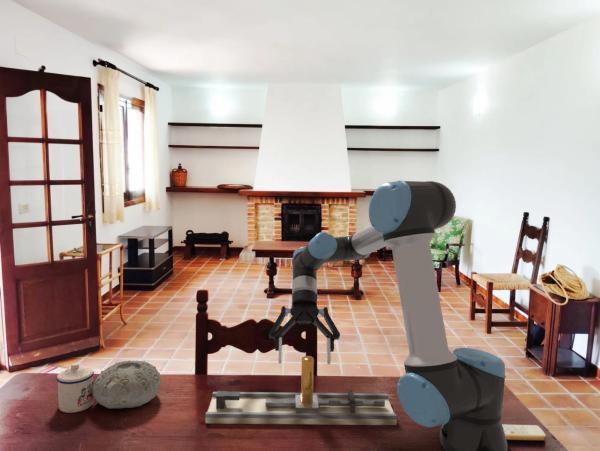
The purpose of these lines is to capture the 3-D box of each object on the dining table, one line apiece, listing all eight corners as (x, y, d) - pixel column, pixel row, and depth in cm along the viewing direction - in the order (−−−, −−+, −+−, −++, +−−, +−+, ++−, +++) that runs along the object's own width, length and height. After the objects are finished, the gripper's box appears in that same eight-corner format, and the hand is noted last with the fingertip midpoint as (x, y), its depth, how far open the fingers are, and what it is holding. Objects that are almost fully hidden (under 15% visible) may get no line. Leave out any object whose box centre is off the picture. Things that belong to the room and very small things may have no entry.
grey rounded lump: (150, 418, 122) (149, 382, 121) (81, 417, 122) (79, 380, 120) (168, 386, 140) (168, 354, 138) (108, 385, 139) (107, 353, 138)
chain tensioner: (381, 399, 130) (384, 354, 129) (387, 413, 123) (389, 365, 122) (266, 398, 130) (266, 352, 128) (264, 411, 123) (265, 363, 121)
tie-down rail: (386, 401, 133) (387, 385, 132) (396, 425, 121) (397, 406, 121) (213, 400, 132) (213, 383, 131) (205, 423, 120) (205, 404, 119)
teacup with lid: (82, 415, 123) (81, 372, 121) (50, 412, 124) (48, 370, 122) (106, 393, 134) (105, 354, 133) (77, 391, 136) (75, 352, 134)
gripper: (344, 300, 146) (348, 367, 133) (263, 299, 146) (259, 366, 133) (346, 288, 140) (351, 357, 127) (263, 287, 140) (258, 356, 127)
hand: (304, 362), depth 130 cm, fingers open, 13 cm apart
